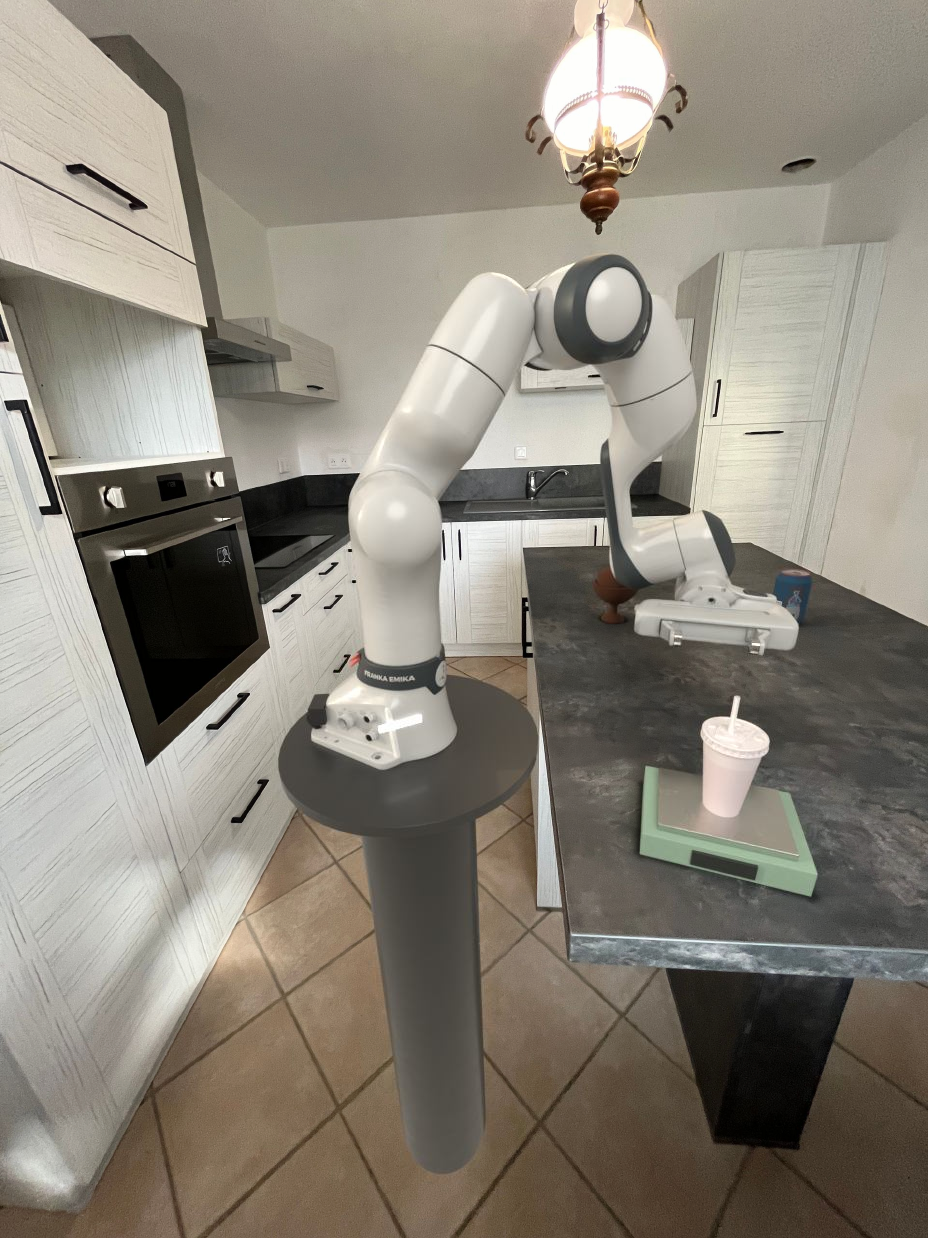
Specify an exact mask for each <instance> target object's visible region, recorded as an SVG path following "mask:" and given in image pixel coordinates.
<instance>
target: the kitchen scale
mask: <svg viewBox="0 0 928 1238" xmlns="http://www.w3.org/2000/svg"><path fill="white" fill-rule="evenodd" d="M644 768H645V769H644V775H643V785H642V803H641V822H640V823H641V824H640V841H639V854H640V855H641V856H645V857H648V858H649V857H650V858H653V859H656V860H662V861H666V862H669V863H674V864H678V865H681V866H685V867H689V868H693V869H697V870H702V871H706V872H710V873H715V874H716V875H717V874H718V875H722V876H726V877H730V878H734V879H737V880H738V879H739V880H742V881H745V882H750V883H754V884H758V885H763V886H765V887H766V886H767V887H771V888H774V889H778V890H782V891H785V892H786V891H787V892H790V893H793V894H797V895H803V896H806V897H809V898H810V897H812V895H813V891H814V889H815V886H816V882H817V879H818V875H819V873H818V871H817V868H816V865H815V862H814V860H813V857H812V856H813V855H812V854H811V850H810V847H809V844H808V842H807V839H806V836H805V834H804V830H803V828H802V825H801V824H802V823H801V822H800V818H799V816H798V813H797V809H796V807H795V803H794V801H793V797H792V796H791V793H790V792H788V791H787V792H786V791H781V790H778V791H779V794H780V797H781V800H782V803H783V806H784V810H785V813H786V816H787V819H788V822H789V825H790V829H791V832H792V835H793V838H794V841H795V844H796V847H797V851H798V854H799V858H798V861H793V860H789V859H784V858H780V857H776V856H771V855H767V854H762V853H758V852H754V851H749V850H745V849H741V848H736V847H732V846H728V845H723V844H719V843H715V842H710V841H706V840H701V839H697V838H693V837H688V836H684V835H680V834H675V833H671V832H667V831H662V830H658V829H657V821H658V769H659V767H654V766H648V765H645V767H644Z"/></svg>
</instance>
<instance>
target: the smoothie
mask: <svg viewBox="0 0 928 1238" xmlns="http://www.w3.org/2000/svg"><path fill="white" fill-rule="evenodd" d="M740 701H741V696H740V695H734V697H733V700H732V707H731V710H730V711H731V712H730V716H714V717H710V718H707V719H706V720H705V721H703V722H702V725H701V729H700V737H701V740H702V741H703V742H702V745H703V746H702V776H703V805H704V806H705V808H706V809H707V810H709V811H710V812H711V813H713V814H715V815H718V816H721V817H726V818H731V817H735V816H737V815H738V814H739V811H740V809H741V807H742V804H743V802H744V799H745V797H746V794H747V792H748V790H749V787H750V785H752V782H753V780H754V777H755V775H756V772H757V770H758V768H759V765H760V764H761V761H762V758H763V757H765V756H766V755H767V754H768V752H769V750H770V741H771V740H770V737H769V735H768V734H767V733H766V732H765V730H763V729H762V728H761V727H759V726H758V725H756V724H754V723H753V722H750V721H747V720H744V719H741V718H738V712H739V707H740V703H741V702H740Z"/></svg>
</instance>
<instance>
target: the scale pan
mask: <svg viewBox="0 0 928 1238" xmlns="http://www.w3.org/2000/svg"><path fill="white" fill-rule="evenodd" d="M658 768H659V769H658V821H657V829H658V830H662V831H667V832H671V833H675V834H680V835H684V836H688V837H693V838H697V839H701V840H706V841H710V842H715V843H719V844H723V845H728V846H732V847H736V848H741V849H745V850H749V851H754V852H758V853H762V854H767V855H771V856H776V857H780V858H784V859H789V860H793V861H798V858H799V854H798V851H797V847H796V844H795V841H794V838H793V835H792V832H791V829H790V825H789V822H788V819H787V816H786V813H785V810H784V806H783V803H782V800H781V797H780V794H779V791H780V790H779V789H776V788H772V787H771V788H770V787H765V786H761V785H760V786H759V785H754V784H751V785H750V787H749V790H748V792H747V794H746V797H745V799H744V802H743V804H742V807H741V809H740V811H739V814H738V815H737V816H735V817H731V818H726V817H721V816H718V815H715V814H713V813H711V812H710V811H709V810H707V809H706V808H705V806H704V805H703V774H702V775H701V774H697V773H691V772H686V771H681V770H676V769H671V768H666V767H665V768H664V767H659V766H658Z"/></svg>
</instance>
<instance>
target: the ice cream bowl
mask: <svg viewBox="0 0 928 1238" xmlns="http://www.w3.org/2000/svg"><path fill="white" fill-rule="evenodd" d="M591 583H592V588H593V590H594V593H595V594H596V596H597V597H598V598H599V599H600V600H601V601H603V602H604V603H607V604H609V612H606V613H604V614H603V615H602V616H601V617H600V619H601V621H602V622H604V623H607V624H608V623H609V624H622V623H623V622H624V621H625V619H626V618H625V617H624V616H623V615H622V614H621V613H619V612H618V608H619V605H622V604H625V603H626V602H628V601H630V600H632V599H633V598H634V597H635V596H636V595H637V594H638V592H639V590H633V589H630V588H627V587H625V586H623V585H621V584H619V583H618V582H617V581H616V579H615V577H614V576H613V573H612V571H611V567H610V565H607V566H606V567H605V568H603V569H601V570H600V571H599V572H597V577H595V578H593V579H592V580H591Z"/></svg>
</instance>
